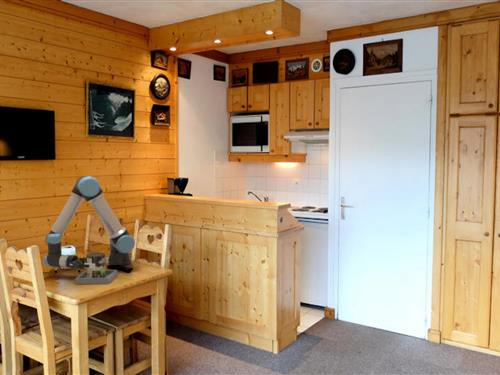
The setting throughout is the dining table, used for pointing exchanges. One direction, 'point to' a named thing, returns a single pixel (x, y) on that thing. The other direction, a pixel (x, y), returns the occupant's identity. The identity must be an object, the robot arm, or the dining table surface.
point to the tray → (84, 280)
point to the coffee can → (96, 265)
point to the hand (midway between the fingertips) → (101, 263)
